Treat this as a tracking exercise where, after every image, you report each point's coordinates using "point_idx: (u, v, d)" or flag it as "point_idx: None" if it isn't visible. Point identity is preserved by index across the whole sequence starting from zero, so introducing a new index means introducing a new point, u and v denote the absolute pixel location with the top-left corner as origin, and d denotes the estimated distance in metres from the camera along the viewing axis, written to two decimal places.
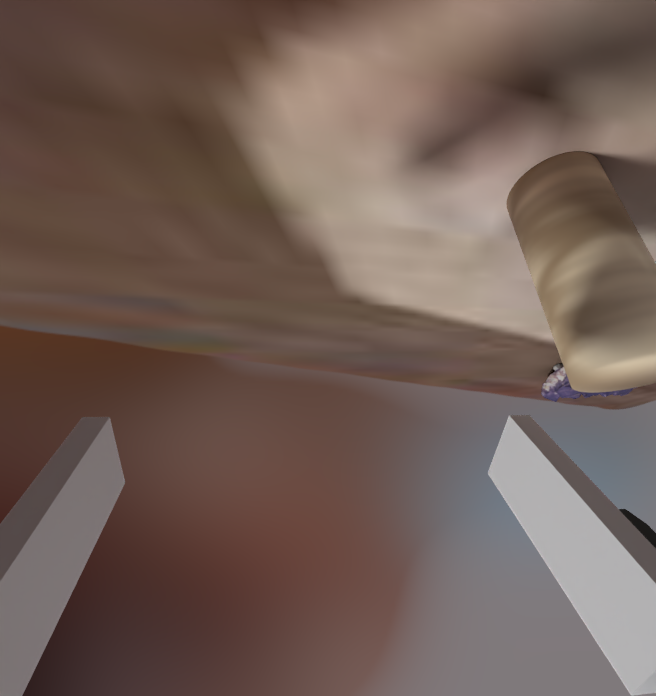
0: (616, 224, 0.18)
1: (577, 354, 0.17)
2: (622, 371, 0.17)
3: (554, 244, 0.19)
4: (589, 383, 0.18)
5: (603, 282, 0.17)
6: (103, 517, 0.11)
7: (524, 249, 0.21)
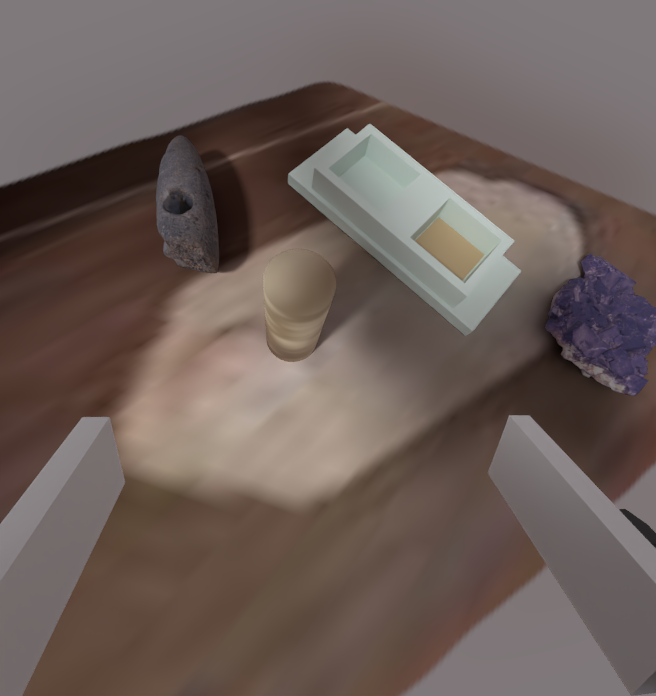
0: None
1: (274, 310, 0.25)
2: (288, 286, 0.25)
3: (267, 328, 0.31)
4: (302, 304, 0.25)
5: None
6: (103, 517, 0.11)
7: (285, 348, 0.32)
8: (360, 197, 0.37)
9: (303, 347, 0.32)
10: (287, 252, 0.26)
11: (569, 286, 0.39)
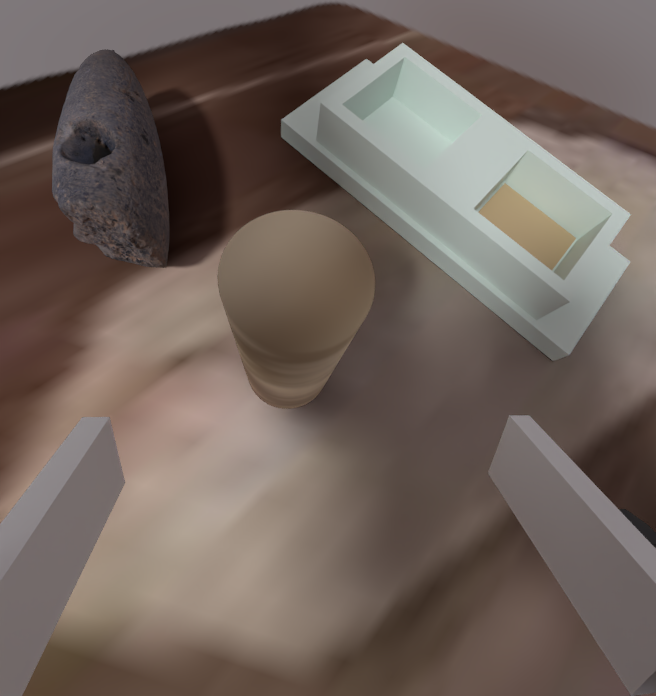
0: None
1: (244, 339, 0.12)
2: (273, 287, 0.12)
3: (243, 363, 0.17)
4: (304, 327, 0.11)
5: None
6: (103, 517, 0.11)
7: (274, 395, 0.19)
8: (393, 147, 0.24)
9: (306, 393, 0.18)
10: (272, 216, 0.12)
11: None
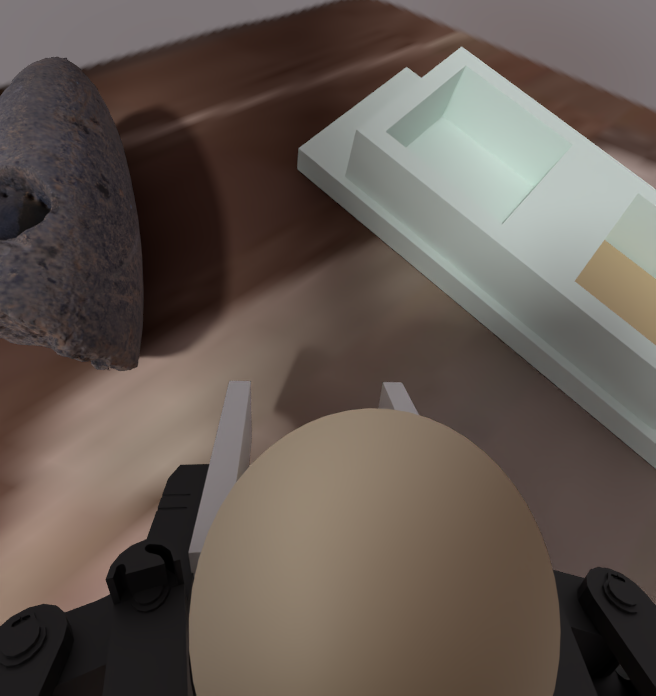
0: None
1: None
2: (326, 640, 0.05)
3: None
4: None
5: None
6: (248, 462, 0.13)
7: None
8: (458, 192, 0.17)
9: None
10: (317, 430, 0.05)
11: None
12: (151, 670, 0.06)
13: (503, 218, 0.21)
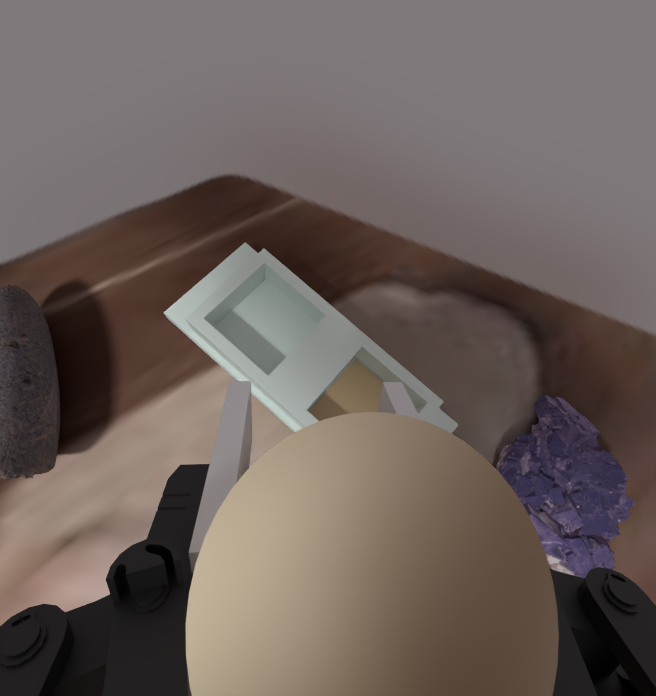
0: None
1: None
2: (324, 645, 0.05)
3: None
4: None
5: None
6: (248, 462, 0.13)
7: None
8: (243, 356, 0.29)
9: None
10: (315, 434, 0.05)
11: (516, 452, 0.31)
12: (151, 670, 0.06)
13: None
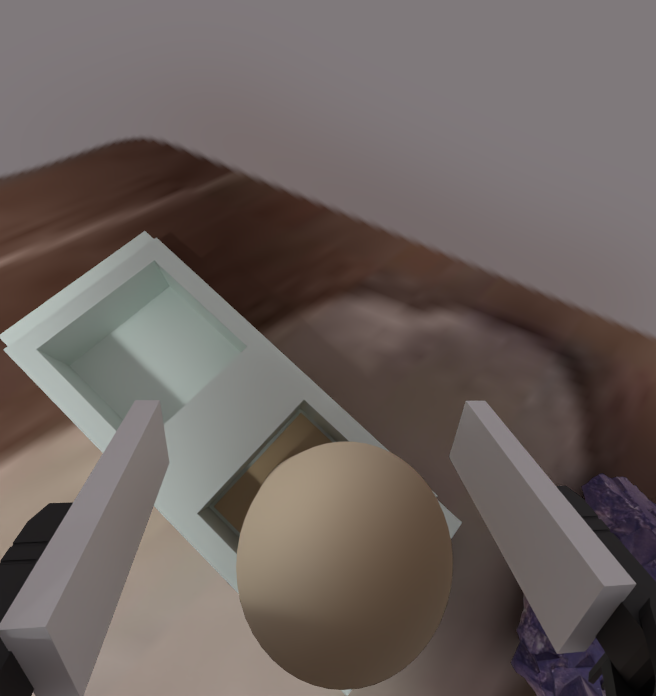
0: None
1: None
2: (314, 579, 0.08)
3: None
4: (361, 643, 0.08)
5: None
6: (155, 492, 0.12)
7: None
8: (96, 417, 0.17)
9: None
10: (308, 455, 0.09)
11: None
12: None
13: None
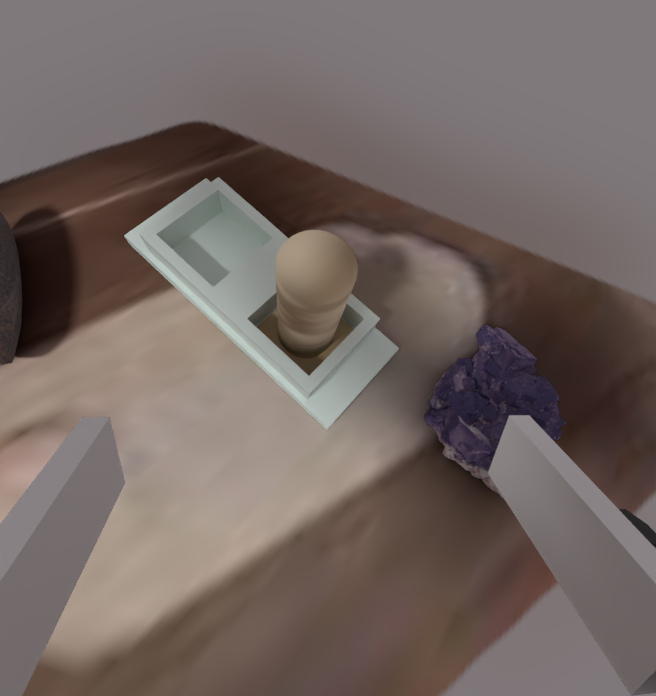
0: None
1: (289, 300, 0.22)
2: (304, 272, 0.22)
3: (280, 322, 0.28)
4: (321, 291, 0.22)
5: (276, 291, 0.25)
6: (103, 517, 0.11)
7: (300, 343, 0.29)
8: (191, 269, 0.31)
9: (320, 341, 0.29)
10: (301, 234, 0.23)
11: (451, 371, 0.33)
12: None
13: None
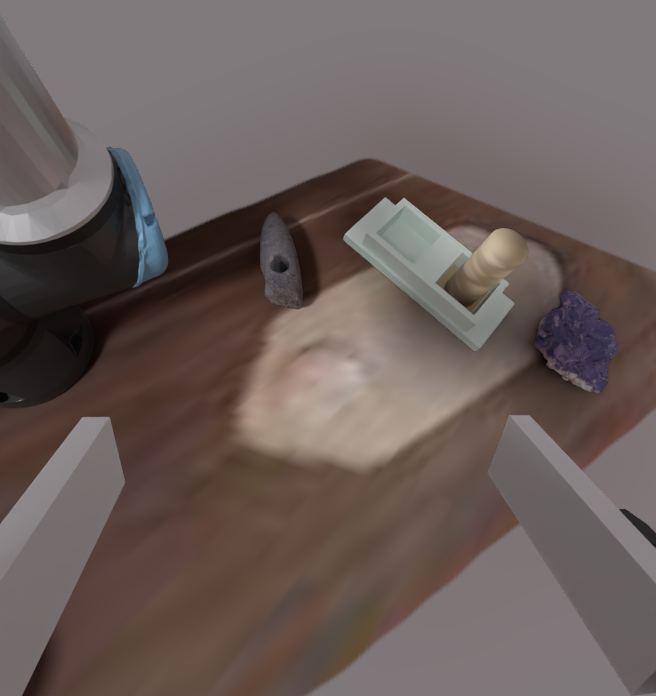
0: (463, 264, 0.50)
1: (495, 264, 0.44)
2: (503, 249, 0.43)
3: (465, 282, 0.49)
4: (513, 258, 0.43)
5: (473, 262, 0.47)
6: (103, 517, 0.11)
7: (472, 295, 0.50)
8: (399, 254, 0.52)
9: (484, 293, 0.50)
10: (497, 230, 0.44)
11: (551, 315, 0.54)
12: None
13: None
